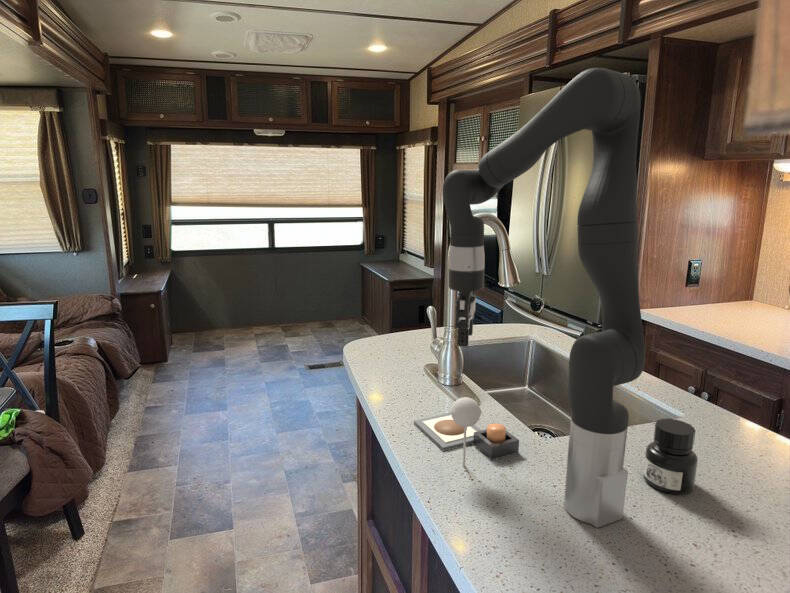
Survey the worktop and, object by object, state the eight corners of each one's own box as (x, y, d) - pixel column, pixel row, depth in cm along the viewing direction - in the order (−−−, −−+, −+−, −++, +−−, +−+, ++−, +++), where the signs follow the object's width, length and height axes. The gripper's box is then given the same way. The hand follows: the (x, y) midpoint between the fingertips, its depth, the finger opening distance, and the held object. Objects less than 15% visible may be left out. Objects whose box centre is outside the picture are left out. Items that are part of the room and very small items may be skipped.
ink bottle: (631, 474, 107) (637, 419, 105) (664, 465, 111) (671, 412, 108) (671, 501, 99) (679, 442, 96) (706, 491, 102) (715, 434, 99)
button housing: (518, 452, 116) (519, 440, 115) (491, 459, 113) (492, 446, 112) (499, 438, 122) (499, 426, 121) (473, 444, 119) (473, 432, 118)
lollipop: (455, 475, 107) (457, 406, 103) (444, 460, 112) (446, 394, 109) (483, 471, 109) (486, 402, 105) (472, 456, 114) (474, 391, 111)
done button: (508, 442, 116) (509, 429, 115) (493, 446, 114) (494, 433, 113) (498, 434, 119) (498, 422, 119) (483, 438, 118) (483, 425, 117)
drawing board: (488, 439, 121) (489, 435, 121) (442, 450, 116) (442, 446, 116) (456, 414, 134) (456, 410, 133) (413, 423, 129) (413, 419, 128)
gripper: (481, 272, 105) (479, 351, 109) (487, 262, 119) (485, 332, 122) (443, 271, 107) (443, 349, 110) (453, 261, 120) (452, 330, 124)
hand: (465, 340), depth 116 cm, fingers open, 8 cm apart
